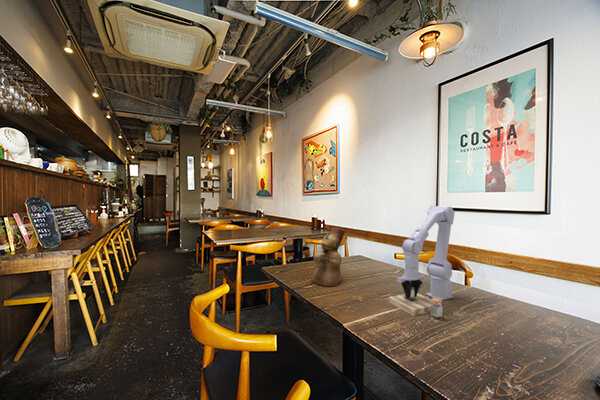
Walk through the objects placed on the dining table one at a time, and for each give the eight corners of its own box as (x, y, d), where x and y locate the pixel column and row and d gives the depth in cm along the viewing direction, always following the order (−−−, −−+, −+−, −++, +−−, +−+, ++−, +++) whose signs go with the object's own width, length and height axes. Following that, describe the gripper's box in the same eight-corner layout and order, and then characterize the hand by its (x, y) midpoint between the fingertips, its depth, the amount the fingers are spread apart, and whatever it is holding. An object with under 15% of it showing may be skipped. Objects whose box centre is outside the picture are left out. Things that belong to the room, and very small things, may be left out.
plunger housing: (435, 313, 102) (435, 303, 102) (442, 316, 100) (442, 306, 100) (430, 314, 101) (430, 304, 101) (436, 317, 98) (437, 307, 98)
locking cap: (435, 307, 103) (435, 296, 103) (443, 311, 99) (443, 300, 99) (429, 308, 101) (429, 298, 101) (437, 312, 98) (437, 301, 98)
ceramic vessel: (306, 281, 141) (307, 228, 140) (332, 273, 155) (332, 225, 155) (327, 289, 129) (328, 231, 129) (353, 280, 144) (353, 228, 143)
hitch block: (415, 297, 120) (415, 292, 120) (441, 309, 107) (441, 304, 107) (388, 302, 114) (389, 296, 114) (413, 316, 101) (413, 309, 101)
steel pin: (410, 300, 115) (411, 284, 114) (416, 302, 112) (416, 287, 111) (405, 300, 114) (405, 285, 113) (410, 303, 111) (410, 288, 110)
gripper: (416, 262, 119) (415, 291, 119) (392, 265, 113) (391, 295, 113) (429, 266, 112) (428, 296, 112) (404, 269, 107) (403, 301, 107)
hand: (410, 296), depth 112 cm, fingers closed on steel pin, 3 cm apart
